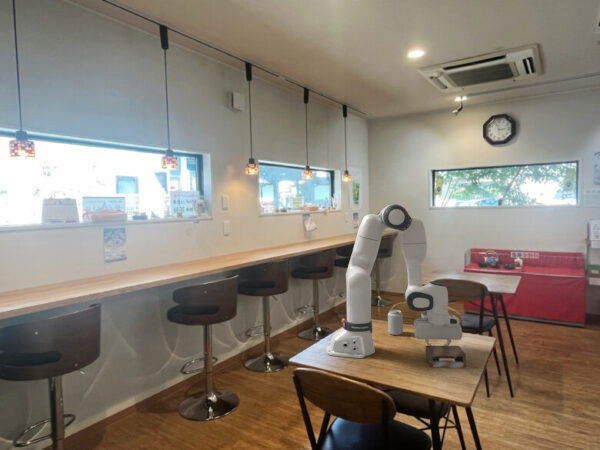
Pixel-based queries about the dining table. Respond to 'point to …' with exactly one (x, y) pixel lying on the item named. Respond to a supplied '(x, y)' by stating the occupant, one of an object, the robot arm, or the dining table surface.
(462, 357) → the cabinet
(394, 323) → the can
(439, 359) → the white and orange box
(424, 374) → the dining table surface
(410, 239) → the robot arm
